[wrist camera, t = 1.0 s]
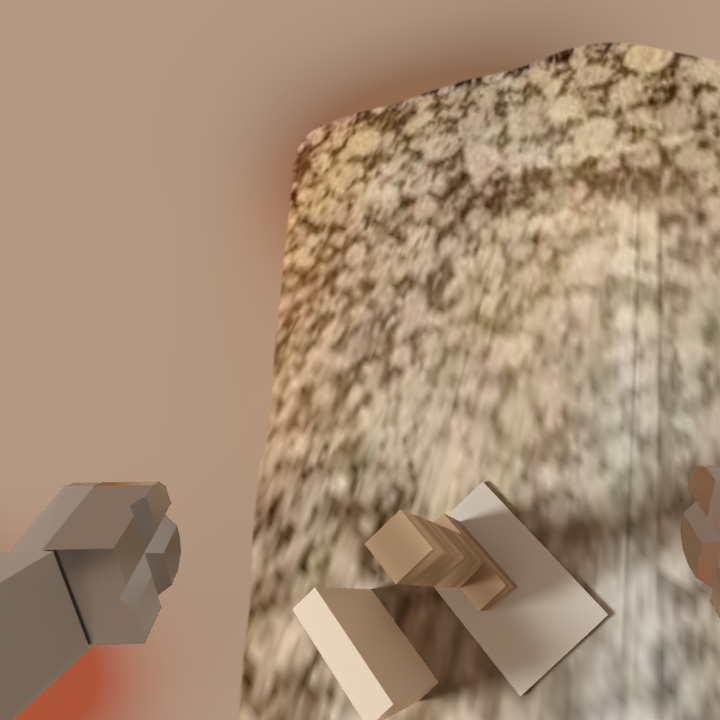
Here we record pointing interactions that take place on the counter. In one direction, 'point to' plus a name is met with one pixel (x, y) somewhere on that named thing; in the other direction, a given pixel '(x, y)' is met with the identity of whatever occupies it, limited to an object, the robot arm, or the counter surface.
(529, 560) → the rest mat
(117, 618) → the robot arm
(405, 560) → the stacked wooden blocks
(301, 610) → the slab tile
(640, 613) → the counter surface
